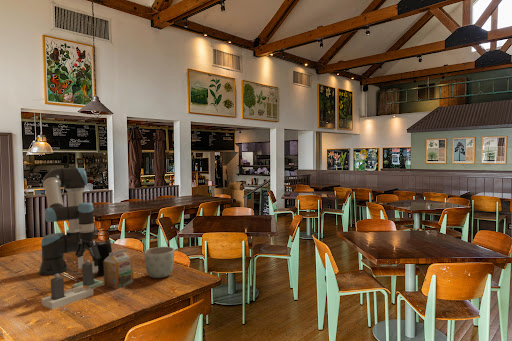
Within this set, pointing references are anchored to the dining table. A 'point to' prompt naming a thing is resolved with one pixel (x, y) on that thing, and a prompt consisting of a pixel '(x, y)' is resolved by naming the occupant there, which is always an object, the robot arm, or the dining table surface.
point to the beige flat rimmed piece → (68, 297)
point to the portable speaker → (103, 255)
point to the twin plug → (57, 287)
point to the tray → (96, 284)
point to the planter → (159, 261)
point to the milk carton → (118, 269)
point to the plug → (87, 274)
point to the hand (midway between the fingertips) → (88, 270)
